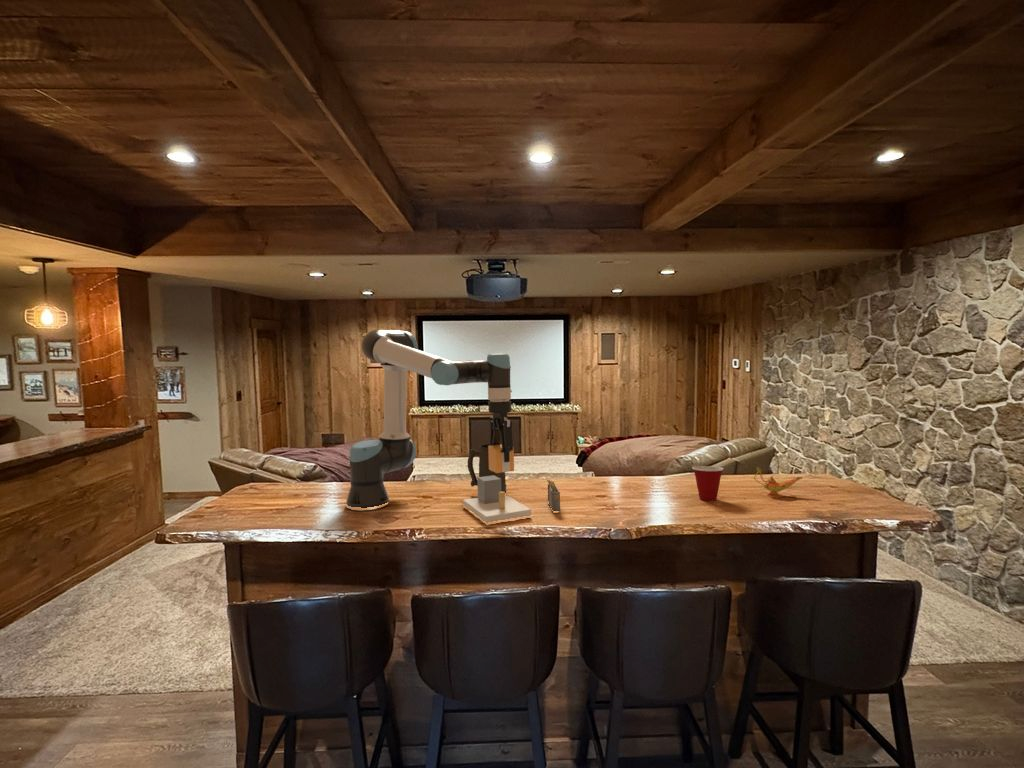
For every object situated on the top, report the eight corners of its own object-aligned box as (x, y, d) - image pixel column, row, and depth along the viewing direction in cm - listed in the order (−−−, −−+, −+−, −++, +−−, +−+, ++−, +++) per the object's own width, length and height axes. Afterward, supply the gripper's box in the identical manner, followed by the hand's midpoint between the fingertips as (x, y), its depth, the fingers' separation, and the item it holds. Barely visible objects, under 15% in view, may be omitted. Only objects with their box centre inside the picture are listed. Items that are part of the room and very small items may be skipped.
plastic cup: (718, 495, 193) (718, 463, 192) (727, 503, 182) (727, 470, 182) (688, 495, 194) (688, 463, 194) (696, 503, 183) (696, 470, 183)
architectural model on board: (546, 505, 186) (546, 478, 186) (555, 504, 187) (554, 478, 186) (551, 514, 175) (550, 486, 175) (560, 514, 175) (559, 486, 175)
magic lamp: (808, 497, 187) (808, 467, 187) (758, 498, 188) (758, 468, 187) (797, 492, 194) (798, 464, 194) (749, 493, 194) (750, 464, 194)
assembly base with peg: (463, 508, 183) (462, 477, 183) (504, 501, 190) (503, 472, 190) (486, 525, 163) (485, 491, 163) (531, 518, 170) (530, 485, 170)
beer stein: (510, 491, 205) (505, 441, 204) (507, 498, 194) (502, 446, 193) (472, 493, 206) (467, 444, 205) (467, 501, 196) (462, 449, 195)
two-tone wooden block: (488, 469, 172) (488, 445, 172) (506, 467, 175) (505, 444, 175) (496, 473, 167) (495, 448, 166) (514, 470, 169) (513, 446, 169)
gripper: (522, 401, 163) (524, 473, 164) (498, 398, 180) (500, 463, 181) (501, 403, 159) (503, 476, 161) (478, 399, 177) (480, 465, 178)
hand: (501, 469), depth 171 cm, fingers closed on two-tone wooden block, 6 cm apart
